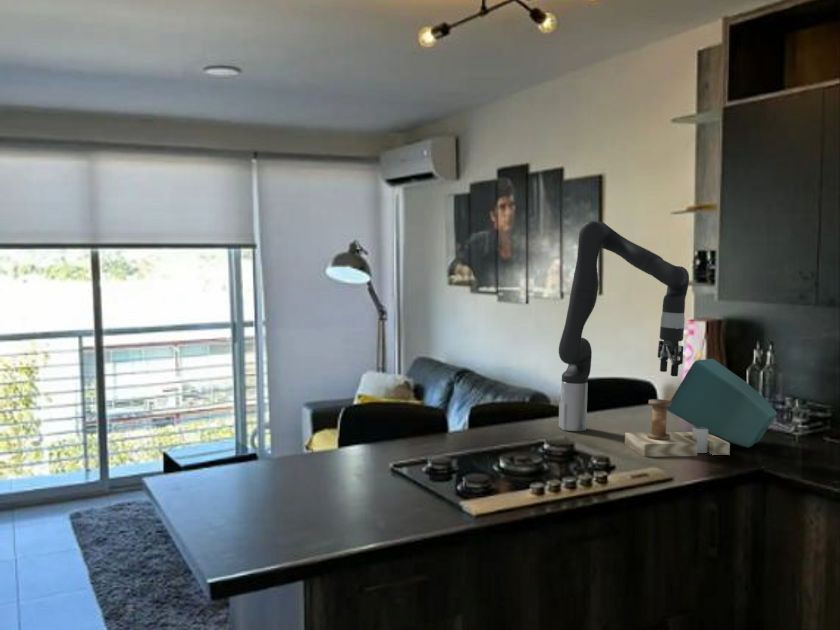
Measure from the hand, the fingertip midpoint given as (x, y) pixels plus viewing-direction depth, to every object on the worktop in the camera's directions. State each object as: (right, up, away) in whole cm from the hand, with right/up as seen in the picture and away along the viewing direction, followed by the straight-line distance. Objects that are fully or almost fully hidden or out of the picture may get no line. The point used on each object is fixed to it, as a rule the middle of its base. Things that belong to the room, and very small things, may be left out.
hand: (668, 373), depth 253 cm
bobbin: (-6, -20, -9) cm, 23 cm away
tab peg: (+6, -24, -11) cm, 27 cm away
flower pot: (+30, -18, -5) cm, 35 cm away
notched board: (0, -24, -8) cm, 25 cm away
